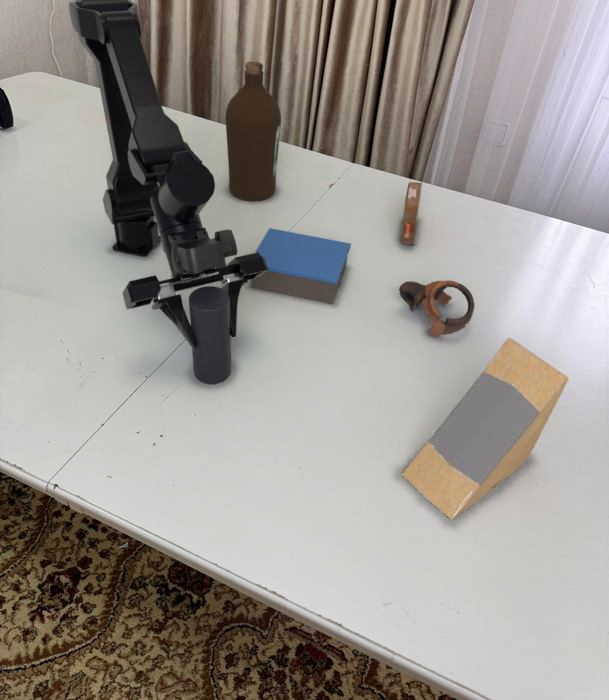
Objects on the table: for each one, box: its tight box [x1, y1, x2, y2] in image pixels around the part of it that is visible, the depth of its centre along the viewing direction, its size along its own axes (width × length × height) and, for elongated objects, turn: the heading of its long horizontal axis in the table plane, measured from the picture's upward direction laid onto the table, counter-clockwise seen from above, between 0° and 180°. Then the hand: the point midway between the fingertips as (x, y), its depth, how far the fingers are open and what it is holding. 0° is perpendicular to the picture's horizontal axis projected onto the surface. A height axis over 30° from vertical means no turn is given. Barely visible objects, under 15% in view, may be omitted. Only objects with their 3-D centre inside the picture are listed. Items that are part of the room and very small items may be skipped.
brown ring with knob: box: [398, 280, 475, 338], centre depth 98 cm, size 12×10×8 cm
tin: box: [400, 181, 423, 246], centre depth 118 cm, size 15×3×8 cm, turn 168°
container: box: [250, 227, 352, 305], centre depth 105 cm, size 15×12×5 cm
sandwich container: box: [401, 337, 569, 521], centre depth 73 cm, size 9×15×15 cm, turn 129°
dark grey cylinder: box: [188, 285, 232, 385], centre depth 84 cm, size 5×5×13 cm
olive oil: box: [224, 60, 282, 202], centre depth 120 cm, size 11×11×25 cm
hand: (214, 342), depth 83 cm, fingers closed on dark grey cylinder, 5 cm apart
